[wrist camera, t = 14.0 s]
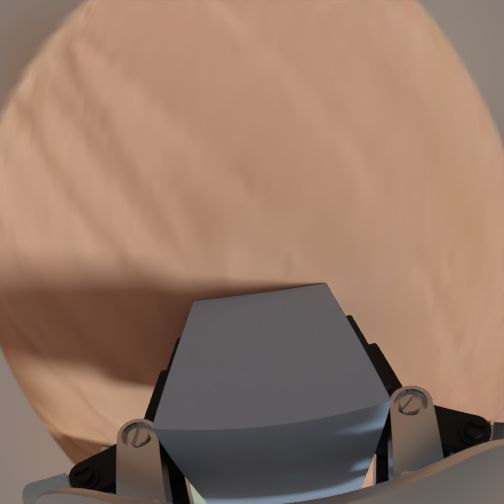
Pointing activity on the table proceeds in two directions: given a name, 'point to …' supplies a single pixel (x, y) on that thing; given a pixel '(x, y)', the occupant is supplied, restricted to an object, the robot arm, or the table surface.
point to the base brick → (198, 500)
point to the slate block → (271, 399)
